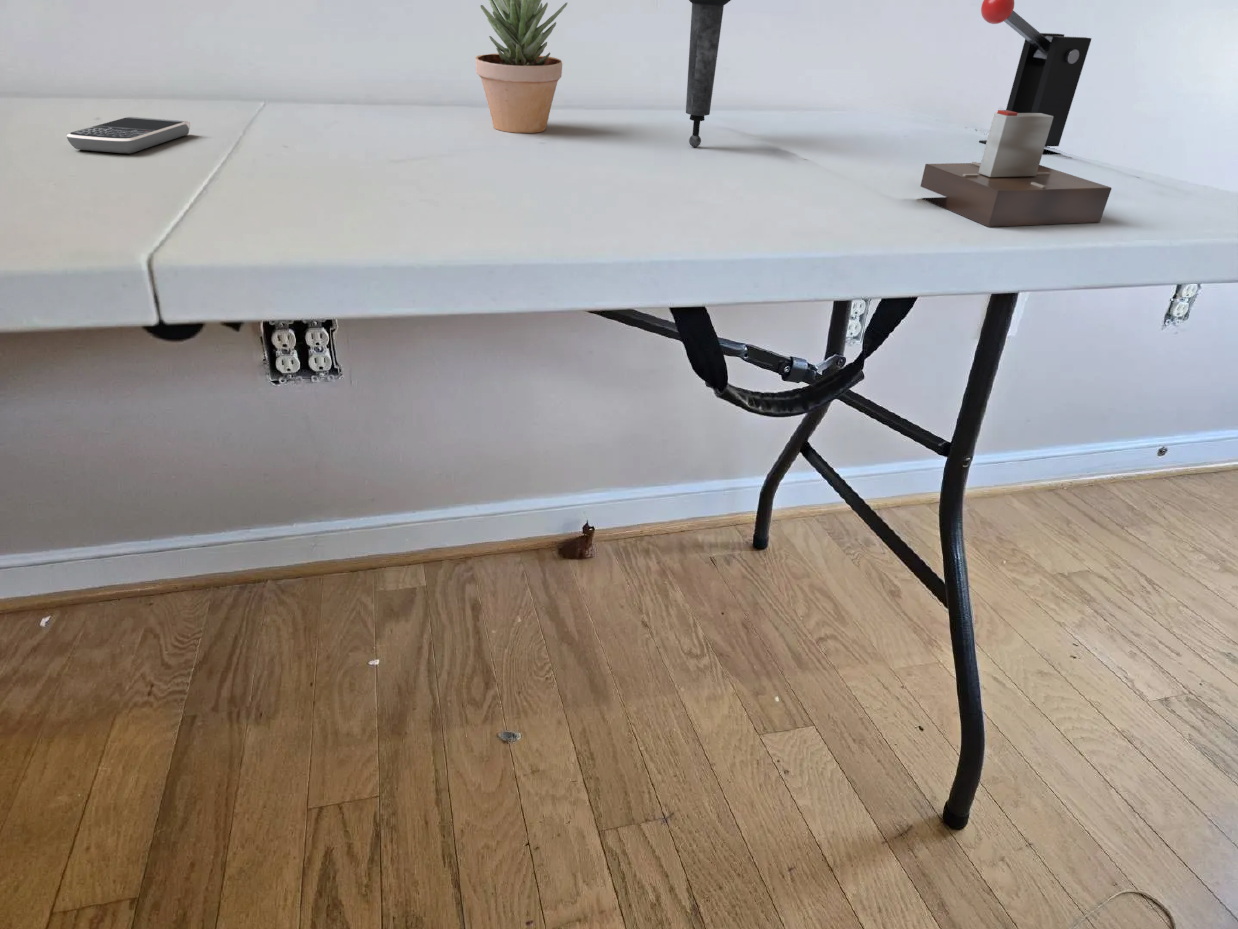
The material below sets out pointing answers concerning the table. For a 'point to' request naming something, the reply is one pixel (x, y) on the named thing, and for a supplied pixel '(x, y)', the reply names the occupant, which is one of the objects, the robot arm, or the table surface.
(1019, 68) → the bracket
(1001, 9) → the switch lever
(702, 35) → the dark grey tapered rod
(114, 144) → the cell phone
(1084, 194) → the brown flat block
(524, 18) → the potted plant
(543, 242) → the table surface
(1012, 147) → the grey block
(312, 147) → the table surface
